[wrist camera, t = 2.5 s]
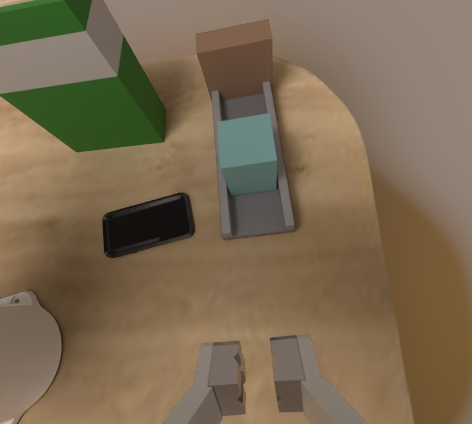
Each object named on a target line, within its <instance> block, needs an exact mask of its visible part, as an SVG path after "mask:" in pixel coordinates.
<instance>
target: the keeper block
mask: <svg viewBox="0 0 472 424" xmlns="http://www.w3.org/2000/svg"><path fill="white" fill-rule="evenodd" d="M217 132H218V145H219V158H220V169H221V171H222V174H223V176H224V179H225V181H226V184H227V186H228V189H229V191H230V193H231V196H234V195H241V194H249V193H256V192H263V191H270V190H276V180H277V156H276V150H275V144H274V138H273V132H272V126H271V120H270V114H269V113H267V114H261V115H255V116H249V117H243V118H237V119H232V120H226V121H220V122H217Z"/></svg>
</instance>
